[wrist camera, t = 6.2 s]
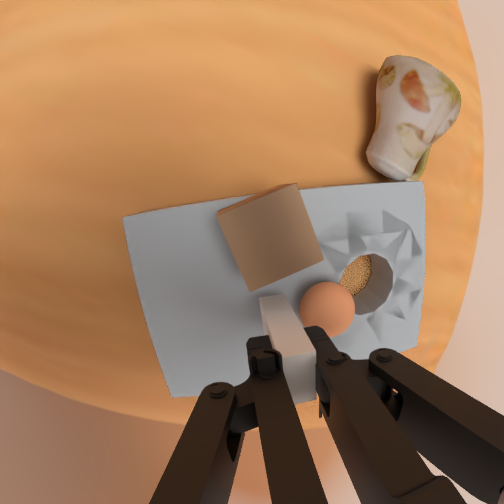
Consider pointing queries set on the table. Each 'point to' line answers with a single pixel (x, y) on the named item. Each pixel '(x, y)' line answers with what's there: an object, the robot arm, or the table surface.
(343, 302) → the ball
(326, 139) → the table surface
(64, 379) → the table surface
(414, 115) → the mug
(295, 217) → the walnut cube
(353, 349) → the grey flat block
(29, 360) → the table surface
